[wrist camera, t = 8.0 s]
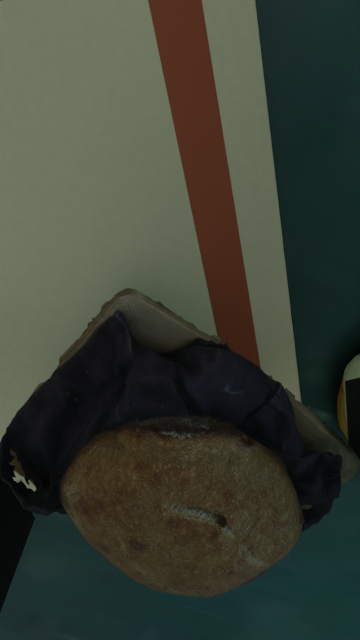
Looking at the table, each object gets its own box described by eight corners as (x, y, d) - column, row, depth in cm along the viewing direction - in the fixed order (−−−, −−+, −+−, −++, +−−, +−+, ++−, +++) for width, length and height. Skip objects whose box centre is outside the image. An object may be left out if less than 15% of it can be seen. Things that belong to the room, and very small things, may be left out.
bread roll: (364, 443, 12) (447, 538, 9) (213, 571, 14) (233, 692, 11) (137, 260, 9) (129, 297, 6) (-19, 453, 11) (-95, 569, 8)
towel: (244, -53, 12) (248, -65, 12) (301, 430, 21) (305, 437, 20) (-360, 104, 13) (-385, 99, 12) (-69, 516, 21) (-75, 525, 20)
